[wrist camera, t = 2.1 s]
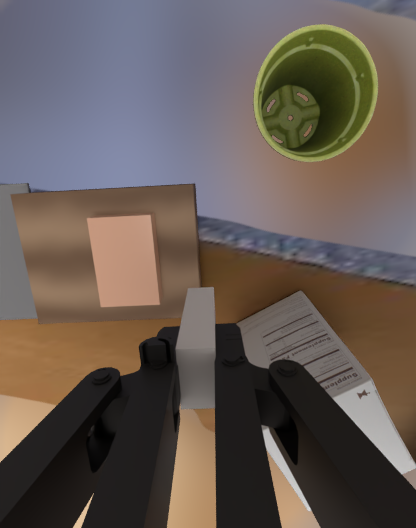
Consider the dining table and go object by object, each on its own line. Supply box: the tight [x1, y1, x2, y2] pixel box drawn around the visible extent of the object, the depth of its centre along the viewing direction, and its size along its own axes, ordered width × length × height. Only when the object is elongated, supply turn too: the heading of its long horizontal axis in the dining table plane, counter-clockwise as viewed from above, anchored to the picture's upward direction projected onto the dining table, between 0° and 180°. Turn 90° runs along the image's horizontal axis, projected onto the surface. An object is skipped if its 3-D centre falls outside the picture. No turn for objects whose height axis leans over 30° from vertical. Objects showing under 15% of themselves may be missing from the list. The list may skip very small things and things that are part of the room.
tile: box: [87, 213, 163, 307], centre depth 31 cm, size 9×6×2 cm, turn 3°
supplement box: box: [236, 290, 416, 511], centre depth 30 cm, size 10×9×17 cm
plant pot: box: [253, 24, 378, 162], centre depth 27 cm, size 9×9×9 cm
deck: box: [10, 184, 202, 324], centre depth 34 cm, size 14×18×4 cm
